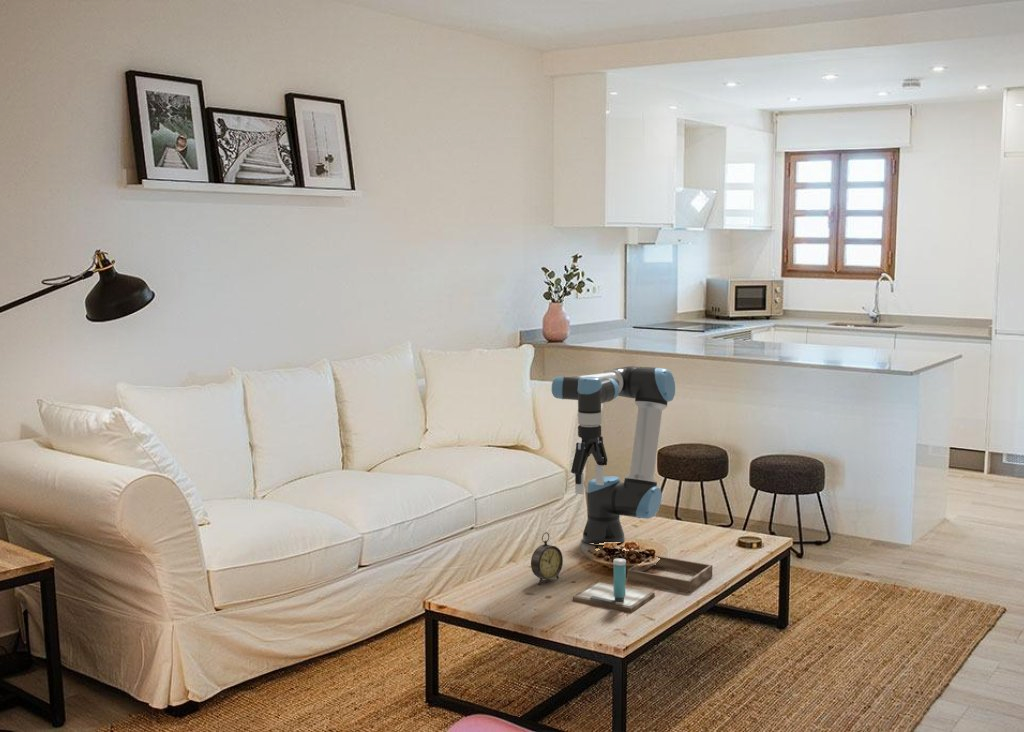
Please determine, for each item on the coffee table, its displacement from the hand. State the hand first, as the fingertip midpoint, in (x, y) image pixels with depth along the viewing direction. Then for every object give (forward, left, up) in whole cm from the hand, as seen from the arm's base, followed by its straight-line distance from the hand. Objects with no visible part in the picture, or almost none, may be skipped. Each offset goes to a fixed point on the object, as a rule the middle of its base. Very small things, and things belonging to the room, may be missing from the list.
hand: (589, 489), depth 338 cm
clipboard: (+16, +17, -29) cm, 37 cm away
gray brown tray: (-10, +24, -29) cm, 39 cm away
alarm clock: (+13, -9, -29) cm, 33 cm away
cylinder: (+20, +21, -27) cm, 40 cm away
